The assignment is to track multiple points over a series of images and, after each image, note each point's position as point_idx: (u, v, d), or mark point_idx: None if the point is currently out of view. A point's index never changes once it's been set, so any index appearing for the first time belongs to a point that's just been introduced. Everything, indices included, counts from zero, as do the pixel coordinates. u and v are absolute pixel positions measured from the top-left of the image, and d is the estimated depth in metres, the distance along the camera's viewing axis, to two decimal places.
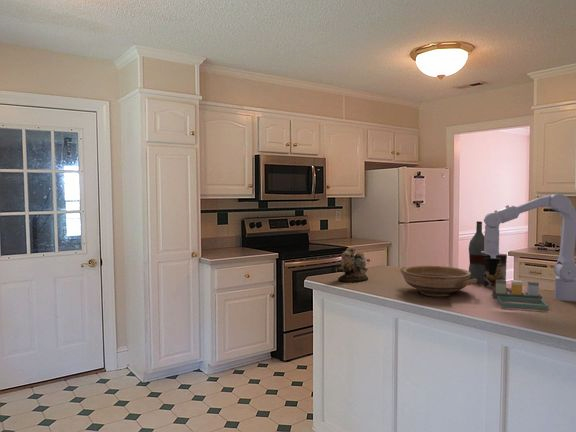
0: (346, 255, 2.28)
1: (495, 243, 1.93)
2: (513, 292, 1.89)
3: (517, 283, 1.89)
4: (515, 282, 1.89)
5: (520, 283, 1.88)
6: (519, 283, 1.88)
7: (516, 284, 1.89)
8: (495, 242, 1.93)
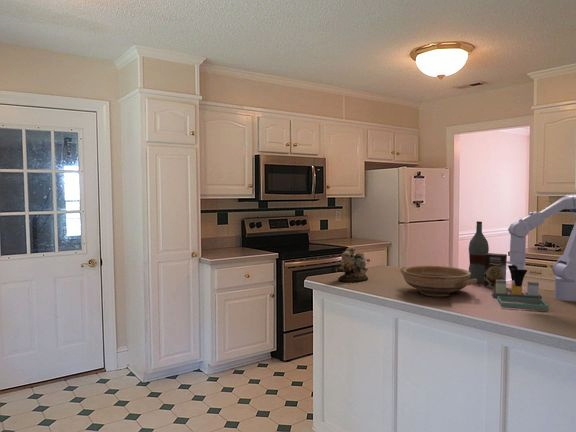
0: (346, 255, 2.28)
1: (522, 253, 1.86)
2: (513, 292, 1.89)
3: None
4: None
5: None
6: None
7: None
8: (522, 252, 1.86)
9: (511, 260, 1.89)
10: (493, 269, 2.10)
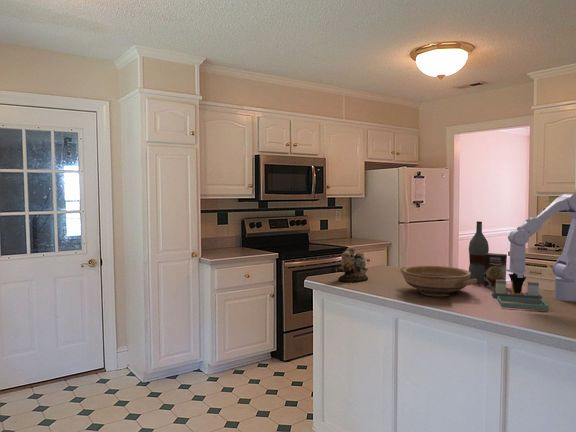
0: (346, 255, 2.28)
1: (521, 261, 1.86)
2: (513, 292, 1.89)
3: None
4: None
5: None
6: None
7: None
8: (521, 260, 1.86)
9: (511, 268, 1.89)
10: (493, 269, 2.10)
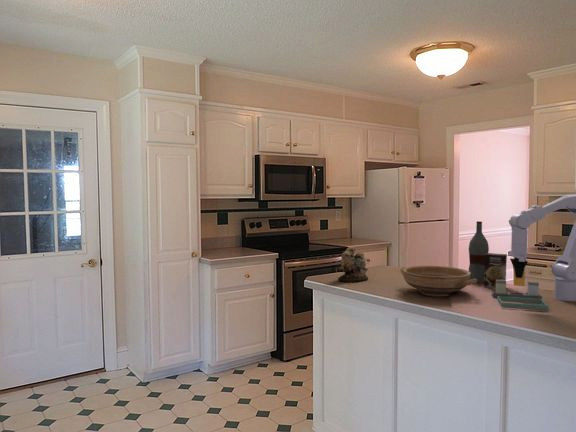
0: (346, 255, 2.28)
1: (523, 245, 1.83)
2: (516, 279, 1.86)
3: None
4: None
5: None
6: None
7: None
8: (523, 244, 1.83)
9: (512, 252, 1.85)
10: (493, 269, 2.10)
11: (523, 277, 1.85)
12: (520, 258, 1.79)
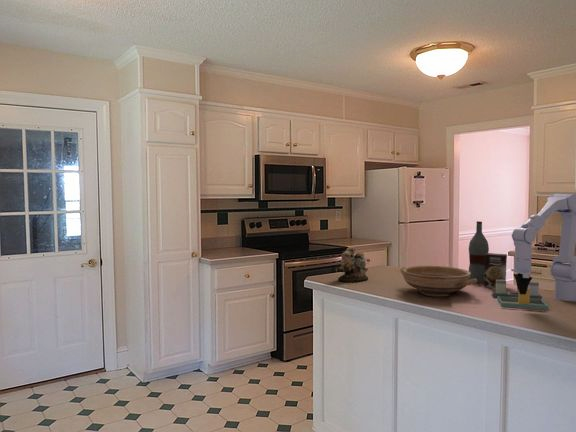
0: (346, 255, 2.28)
1: (527, 261, 1.75)
2: (520, 297, 1.78)
3: None
4: None
5: (528, 287, 1.77)
6: None
7: None
8: (527, 259, 1.75)
9: (516, 268, 1.78)
10: (493, 269, 2.10)
11: (528, 295, 1.77)
12: (524, 274, 1.72)
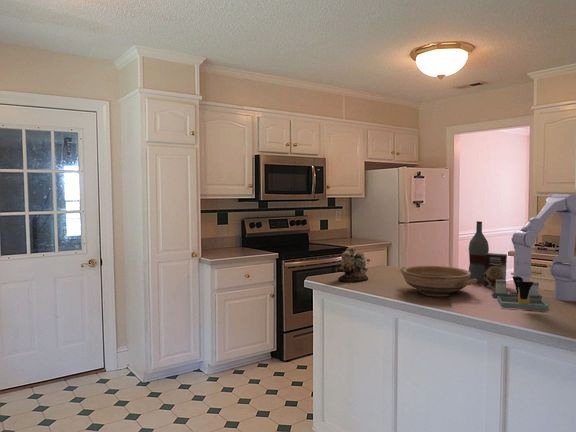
0: (346, 255, 2.28)
1: (527, 264, 1.75)
2: (520, 299, 1.78)
3: None
4: None
5: None
6: None
7: None
8: (527, 263, 1.75)
9: (516, 271, 1.78)
10: (493, 269, 2.10)
11: (528, 297, 1.77)
12: (524, 278, 1.72)
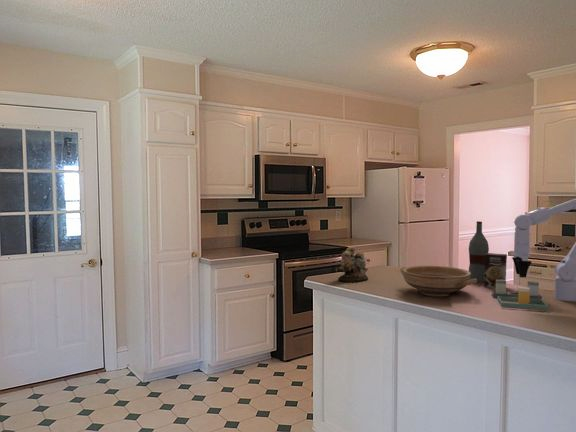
0: (346, 255, 2.28)
1: (526, 245, 1.91)
2: (520, 299, 1.78)
3: (524, 290, 1.77)
4: (522, 289, 1.78)
5: (527, 290, 1.77)
6: (526, 290, 1.77)
7: (523, 291, 1.77)
8: (526, 244, 1.91)
9: (515, 252, 1.93)
10: (493, 269, 2.10)
11: (528, 297, 1.77)
12: (523, 257, 1.87)
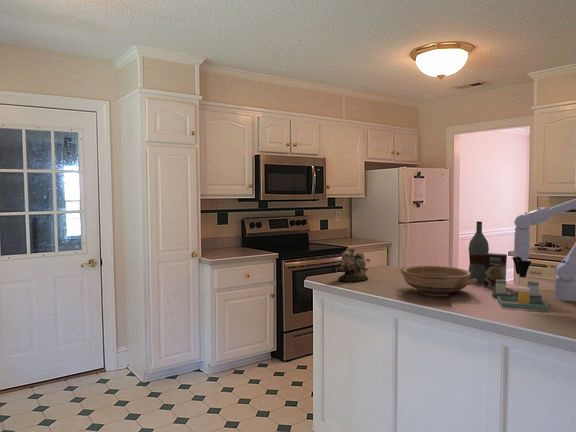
0: (346, 255, 2.28)
1: (526, 245, 1.91)
2: (520, 299, 1.78)
3: (524, 290, 1.77)
4: (522, 289, 1.78)
5: (527, 290, 1.77)
6: (526, 290, 1.77)
7: (523, 291, 1.77)
8: (526, 244, 1.91)
9: (515, 252, 1.93)
10: (493, 269, 2.10)
11: (528, 297, 1.77)
12: (523, 257, 1.87)
